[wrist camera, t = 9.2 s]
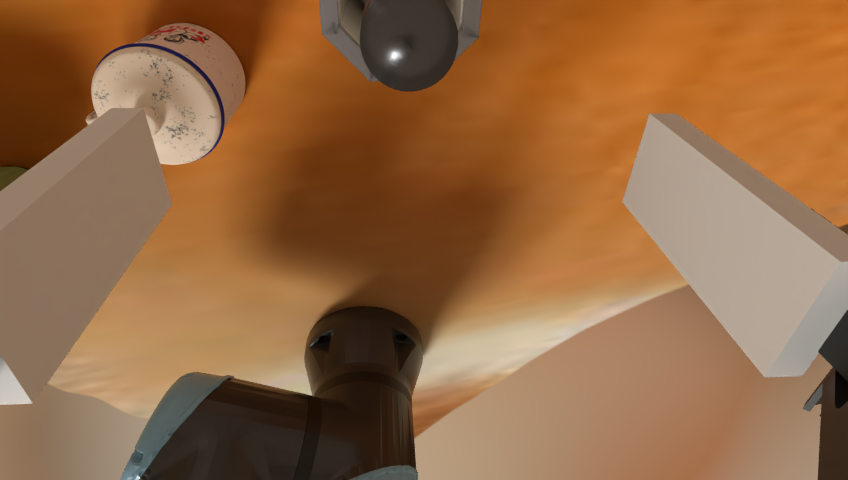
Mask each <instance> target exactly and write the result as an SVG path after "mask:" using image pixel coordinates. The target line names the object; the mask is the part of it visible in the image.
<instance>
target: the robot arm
mask: <svg viewBox="0 0 848 480" xmlns="http://www.w3.org/2000/svg"><path fill="white" fill-rule="evenodd" d="M623 203H624V205H625V206H626V207H627V208H628V210H629V211H630V212H631V213H632V215H633V216H634V217H635V218H636V219H637V221H638V222H639V223H640V224H641V226H642V227H643V228H644V229H645V231H646V232H647V233H648V234H649V236H650V237H651V238H652V239H653V240H654V242H655V243H656V244H657V245H658V247H659V248H660V249H661V250H662V252H663V253H664V254H665V255H666V256H667V258H668V259H669V260H670V261H671V263H672V264H673V265H674V266H675V268H676V269H677V270H678V271H679V272H680V274H681V275H682V276H683V277H684V279H685V280H686V281H687V282H688V284H689V285H690V286H691V287H692V288H693V290H694V291H695V292H696V293H697V295H698V296H699V297H700V298H701V300H702V301H703V302H704V303H705V304H706V305H707V307H708V308H709V309H710V311H711V312H712V313H713V314H714V316H715V317H716V318H717V319H718V321H719V322H720V323H721V324H722V325H723V327H724V328H725V329H726V330H727V332H728V333H729V334H730V335H731V337H732V338H733V339H734V340H735V341H736V343H737V344H738V345H739V346H740V348H741V349H742V350H743V351H744V352H745V354H746V355H747V356H748V357H749V359H750V360H751V361H752V362H753V363H754V365H755V366H756V367H757V368H758V370H759V371H760V372H761V373H762V375H763V376H764V377H787V376H802V375H803V374H804V373H805V371H806V370H807V369H808V367H809V366H810V364H811V363H812V362H813V360H814V359H815V357H816V356H817V355H818V353H820V354H821V355H822V356H823V357H824V358H825V359H826V360H827V361H828V362H829V363H830V364H831V365H832V366H833V368H832V369H831V370H830V372H829V373H828V374H827V375H826V377H825V378H824V379H823V381H822V382H821V383H820V384H819V386H818V387H817V388H816V390H815V391H814V392H813V394H812V395H811V396H810V398H809V399H808V400H807V402H806V403H805V406H804V407H803V409H805V410H807V411H811V409H812V408H813V407H814V405H817V404H822V407H821V414H820V416H821V426H820V447H819V468H818V480H848V235H847V233H845V232H844V231H842V230H841V229H840V228H838V227H837V226H835V225H833V224H832V223H831V222H830V221H828V220H827V219H825V218H824V217H823V216H821V215H820V214H818V213H817V212H815V211H814V210H813V209H811V208H809V207H808V206H806V205H805V204H804V203H802V202H801V201H799V200H798V199H796V198H795V197H794V196H792V195H791V194H789V193H788V192H787V191H785V190H784V189H782V188H781V187H779V186H778V185H777V184H775V183H774V182H772V181H771V180H770V179H768V178H767V177H765V176H764V175H762V174H761V173H760V172H758V171H757V170H755V169H754V168H753V167H751V166H750V165H748V164H747V163H745V162H744V161H743V160H741V159H740V158H738V157H737V156H736V155H734V154H733V153H731V152H730V151H729V150H727V149H726V148H724V147H723V146H721V145H720V144H719V143H717V142H716V141H714V140H713V139H712V138H710V137H709V136H707V135H706V134H704V133H703V132H702V131H700V130H699V129H697V128H696V127H695V126H693V125H692V124H690V123H689V122H687V121H686V120H685V119H683V118H682V117H680V116H679V115H678V114H649V117H648V121H647V124H646V127H645V130H644V134H643V137H642V140H641V143H640V146H639V150H638V153H637V156H636V159H635V163H634V166H633V169H632V172H631V176H630V179H629V182H628V185H627V189H626V192H625V195H624V198H623ZM171 205H172V202H171V199H170V195H169V192H168V189H167V185H166V182H165V179H164V175H163V172H162V168H161V165H160V162H159V158H158V155H157V152H156V148H155V145H154V142H153V138H152V135H151V131H150V128H149V125H148V121H147V118H146V115H145V111H144V108H111V109H109V110H108V111H107V112H105V113H104V114H103V115H101V116H100V117H99V118H97V119H96V120H95V121H93V122H92V123H91V124H89V125H88V126H87V127H85V128H84V129H83V130H81V131H80V132H79V133H77V134H76V135H75V136H73V137H72V138H71V139H69V140H68V141H67V142H65V143H64V144H63V145H61V146H60V147H59V148H57V149H56V150H55V151H53V152H52V153H51V154H49V155H48V156H47V157H45V158H44V159H43V160H41V161H40V162H39V163H37V164H36V165H35V166H33V167H32V168H31V169H29V170H28V171H27V172H25V173H24V174H23V175H21V176H20V177H19V178H18V179H16V180H15V181H14V182H12V183H11V184H10V185H8V186H7V187H6V188H4V189H3V190H2V191H0V405H2V404H3V405H4V404H30V403H31V404H32V403H33V402H34V401H35V400H36V398H37V397H38V395H39V394H40V392H41V391H42V390H43V388H44V387H45V385H46V384H47V382H48V381H49V380H50V378H51V377H52V375H53V374H54V372H55V371H56V370H57V368H58V367H59V365H60V364H61V362H62V361H63V360H64V358H65V357H66V355H67V354H68V352H69V351H70V350H71V348H72V347H73V345H74V344H75V342H76V341H77V340H78V338H79V337H80V335H81V334H82V332H83V331H84V330H85V328H86V327H87V325H88V324H89V322H90V321H91V320H92V318H93V317H94V315H95V314H96V312H97V311H98V310H99V308H100V307H101V305H102V304H103V302H104V301H105V300H106V298H107V297H108V295H109V294H110V292H111V291H112V290H113V288H114V287H115V285H116V284H117V282H118V281H119V279H120V278H121V277H122V275H123V274H124V272H125V271H126V269H127V268H128V267H129V265H130V264H131V262H132V261H133V259H134V258H135V257H136V255H137V254H138V252H139V251H140V249H141V248H142V247H143V245H144V244H145V242H146V241H147V239H148V238H149V237H150V235H151V234H152V232H153V231H154V229H155V228H156V227H157V225H158V224H159V222H160V221H161V219H162V218H163V217H164V215H165V214H166V212H167V211H168V209H169V208H170V207H171ZM422 359H423V354H422V343H421V338H420V335H419V333H418V332H417V330H416V329H415V327H414V326H413V325H412V324H411V323H410V322H409V321H408V320H406V319H405V318H403V317H402V316H400V315H398V314H396V313H394V312H391V311H388V310H385V309H380V308H374V307H355V308H348V309H344V310H340V311H338V312H335V313H333V314H330V315H328V316H327V317H325V318H324V319H322V320H321V321H320V322H318V323H317V324H316V325H315V326H314V328H313V329H312V330H311V332H310V334H309V336H308V339H307V343H306V349H305V367H306V371H307V375H308V379H309V383H310V387H311V391H312V395H313V396H310V395H306V394H302V393H298V392H293V391H289V390H284V389H280V388H275V387H271V386H267V385H262V384H258V383H253V382H249V381H245V380H240V379H236V378H234V376H230V375H226V376H218V375H212V374H206V373H200V372H192V373H188V374H185V375H184V376H182V377H180V378H179V379H178V380H177V381H176V382H175V383H174V384H173V385H172V386H171V387H170V388H169V390H168V391H167V392H166V394H165V395H164V397H163V398H162V400H161V401H160V403H159V404H158V406H157V407H156V409H155V411H154V412H153V414H152V416H151V417H150V419H149V421H148V423H147V425H146V426H145V428H144V430H143V432H142V434H141V436H140V438H139V440H138V442H137V444H136V446H135V451H134V453H133V454H132V455H131V458H130V460H129V462H128V463H127V465H126V467H125V469H124V472H123V474H122V477H121V480H418V472H417V470H416V461H415V445H414V430H413V415H412V399H411V397H412V394H413V391H414V388H415V385H416V382H417V379H418V376H419V372H420V369H421V366H422Z"/></svg>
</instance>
